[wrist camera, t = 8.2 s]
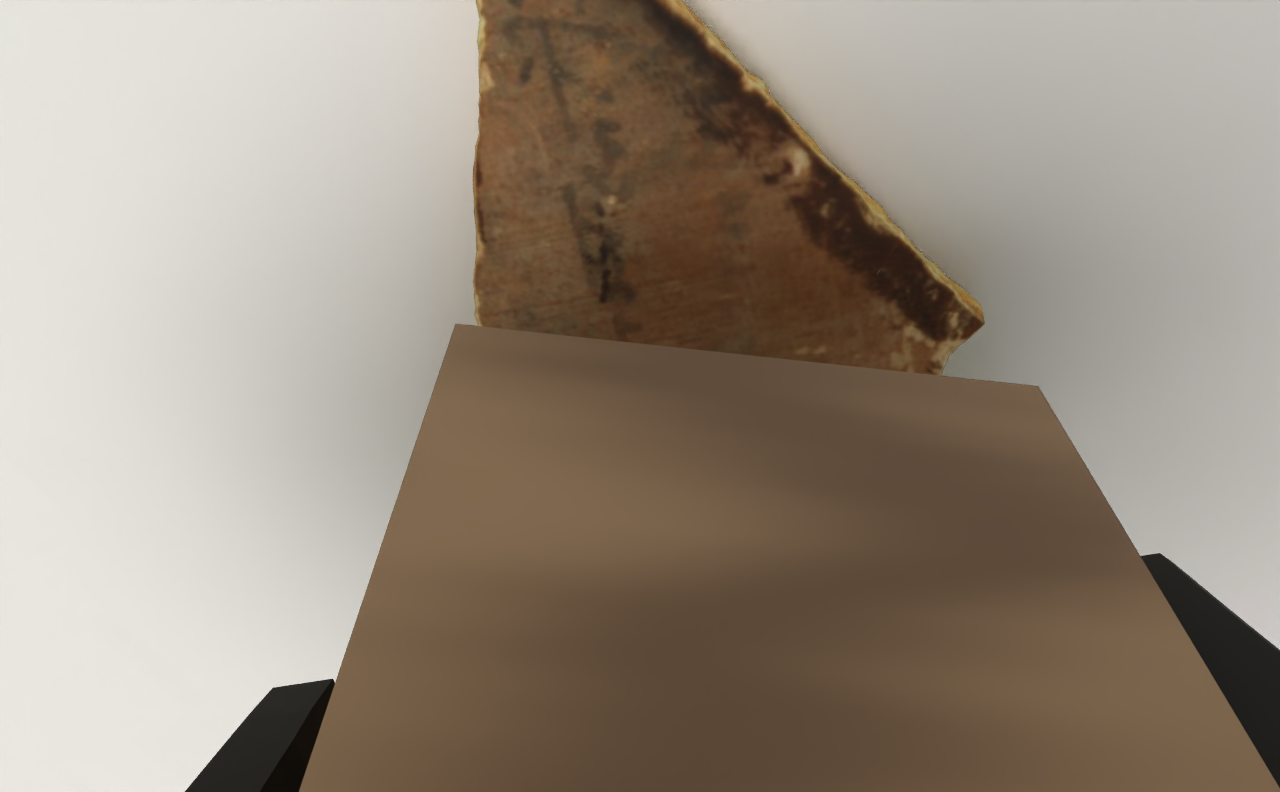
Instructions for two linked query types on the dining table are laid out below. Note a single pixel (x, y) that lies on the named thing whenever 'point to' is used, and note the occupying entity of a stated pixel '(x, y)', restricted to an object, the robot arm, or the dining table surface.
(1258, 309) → the dining table surface
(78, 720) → the dining table surface
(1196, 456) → the dining table surface
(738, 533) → the walnut block
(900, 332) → the shard
